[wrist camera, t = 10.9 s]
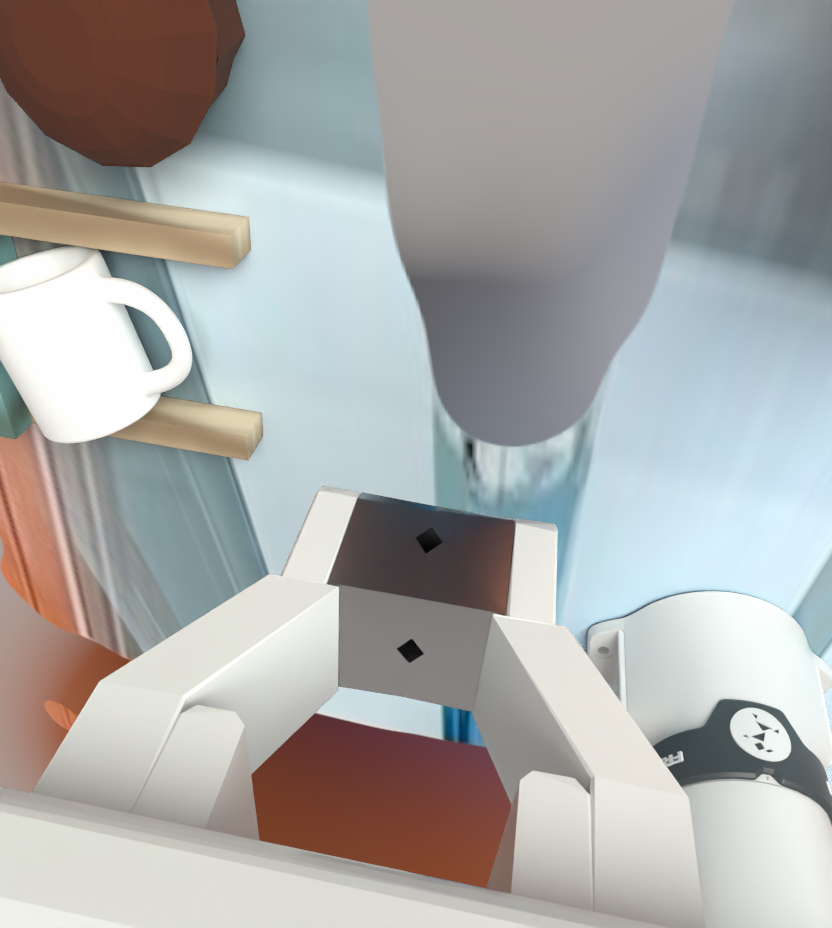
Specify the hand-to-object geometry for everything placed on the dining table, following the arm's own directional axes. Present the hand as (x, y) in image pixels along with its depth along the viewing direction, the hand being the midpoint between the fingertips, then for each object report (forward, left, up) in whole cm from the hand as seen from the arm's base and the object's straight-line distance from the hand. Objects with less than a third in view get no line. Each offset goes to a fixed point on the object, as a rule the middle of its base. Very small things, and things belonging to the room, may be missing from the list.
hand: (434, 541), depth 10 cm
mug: (-17, +25, -35) cm, 46 cm away
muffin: (0, +20, -34) cm, 40 cm away
